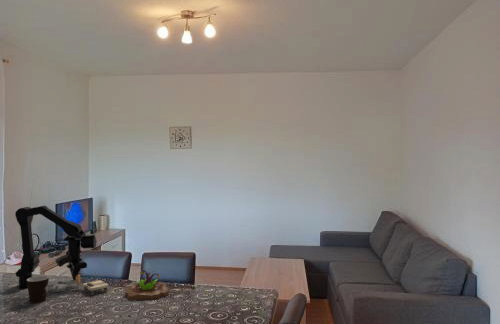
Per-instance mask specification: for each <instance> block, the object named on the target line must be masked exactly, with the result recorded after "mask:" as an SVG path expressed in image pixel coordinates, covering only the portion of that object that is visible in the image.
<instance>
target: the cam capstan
mask: <svg viewBox="0 0 500 324" xmlns="http://www.w3.org/2000/svg"><path fill="white" fill-rule="evenodd" d="M77 285H81V274H78V275H76V279H75V280H73V279H71V280H60V281H59V280H58V281H55V282H53V283H52V292H53V293H62V292H65V291H67V290H68V287H73V286H77Z"/></svg>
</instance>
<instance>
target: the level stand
mask: <svg viewBox="0 0 500 324" xmlns="http://www.w3.org/2000/svg"><path fill="white" fill-rule="evenodd" d="M82 286H83V288H70V289H69V292H88V290H89V291H90V296H95V294H96V293H95V292H96V291H97V290H101V289H103V293H107V292H108V287H109V284H108V283H106V282H105V281H103V280H101V279H98V280H97V279H96V280H93V281H89V282H84V283H83V285H82Z"/></svg>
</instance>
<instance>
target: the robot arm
mask: <svg viewBox="0 0 500 324" xmlns="http://www.w3.org/2000/svg"><path fill="white" fill-rule="evenodd" d="M14 215H15V218H16V222H17V224H18V225H19V226H20V237H21V245H22V246H21V247H22V254H23V255H22V256H21V257H22V258H21V261H20V267H19V269H18V270H16V271H15V274H14V275H15V276H16V278H18V284H16V287H17V288H18V289H19V290H23V289H28V286H27V279H28V278H31V277H33V273H34V272H35V270H36V269H37V268H38V266H39V263H41V260H40V254H36V253H35V250H34V249H35V248H34V239H33V231H32V229H33V228H32V222H33V218H34V216H37V215H41V216H42V217H44V218H45V219H47V220H50V222H52V223H54V224H55V225H57V226H58V227H60V228H61V229H62V230H63V232H64V233H65V234H66V236H65V238H63V242H67V251H66V252H65V254H64V255H61V256H60V257H57V258H56V259H55V260H54V261H55V263H56V265H57V266H58V267H60V268H62V267H63V266H64V265H65V267H66V268H68V270H69V272H70V275H71V278H72V280H75V279H76V275H79V273H80V271H81V269H85V268H88V263H87V262H86V261H84V260H83V258H81V254H82V251H83V250H81V248H82V249H84V250H85V249H96V247H97V237H96V234H89V235H87V234H86V233H85V232H84V230H83V229H82V226H81V224H80V223H77V222H75V221H71V220H68V219H66V218H64V217H63V216H61V215H59V214H58V213H57V212H55V211H54V210H52V209H50V208H49V207H48V206H46V205H41V206H35V207H30V206H24V207H20V208H18V209H17V210H16V211H15V214H14ZM66 264H67V265H66Z"/></svg>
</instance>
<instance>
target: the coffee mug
mask: <svg viewBox="0 0 500 324" xmlns="http://www.w3.org/2000/svg"><path fill="white" fill-rule="evenodd" d="M49 279H50V276H48V275H37V276H36V275H35V276H32V277H31V278H28V279H27V286H28V288H27V290H28V292H27V293H28V298H29V304H40V303H43V302H45V301H46V300H47V296H48V295H47V293H48V287H49Z"/></svg>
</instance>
